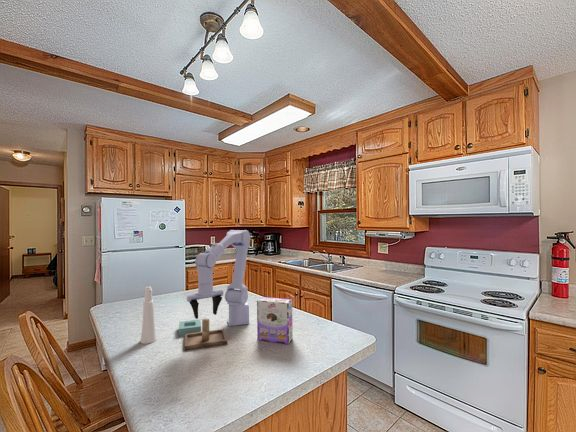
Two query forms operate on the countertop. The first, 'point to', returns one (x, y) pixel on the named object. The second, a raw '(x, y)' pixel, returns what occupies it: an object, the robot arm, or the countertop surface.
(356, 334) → the countertop surface
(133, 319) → the countertop surface
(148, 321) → the cosmetic bottle
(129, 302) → the countertop surface
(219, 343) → the tray
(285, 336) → the candy box
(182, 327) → the teal square ring
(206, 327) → the pin
